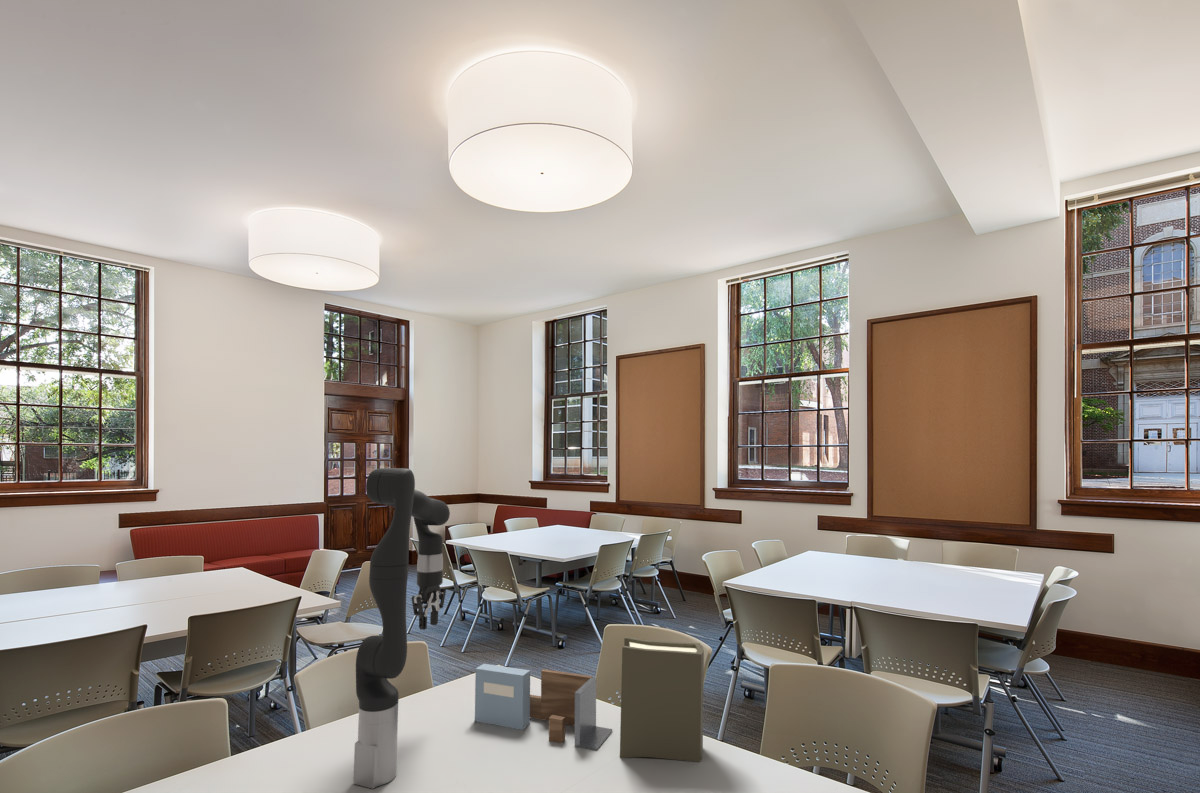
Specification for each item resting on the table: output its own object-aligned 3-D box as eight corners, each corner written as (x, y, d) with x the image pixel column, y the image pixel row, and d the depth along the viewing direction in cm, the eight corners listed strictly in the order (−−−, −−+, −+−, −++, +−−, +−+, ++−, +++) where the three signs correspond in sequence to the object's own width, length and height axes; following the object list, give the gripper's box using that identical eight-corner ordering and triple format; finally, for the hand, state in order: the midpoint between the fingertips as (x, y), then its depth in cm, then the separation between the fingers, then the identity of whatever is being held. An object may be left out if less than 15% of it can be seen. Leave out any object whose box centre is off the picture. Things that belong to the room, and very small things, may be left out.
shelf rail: (575, 745, 165) (575, 691, 166) (483, 728, 175) (484, 677, 177) (592, 726, 176) (592, 676, 178) (505, 710, 187) (505, 663, 188)
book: (701, 747, 165) (702, 641, 168) (703, 764, 156) (704, 652, 158) (622, 740, 168) (624, 636, 170) (619, 757, 158) (622, 647, 161)
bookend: (596, 750, 162) (596, 696, 163) (574, 746, 164) (574, 692, 166) (612, 731, 173) (612, 680, 174) (591, 727, 176) (591, 677, 177)
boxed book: (522, 729, 174) (522, 675, 176) (474, 721, 180) (475, 668, 181) (529, 723, 179) (530, 670, 180) (482, 714, 184) (483, 663, 186)
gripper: (425, 574, 176) (423, 634, 174) (454, 565, 189) (453, 621, 187) (404, 572, 178) (402, 632, 177) (434, 563, 192) (432, 619, 190)
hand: (428, 626), depth 182 cm, fingers open, 4 cm apart
